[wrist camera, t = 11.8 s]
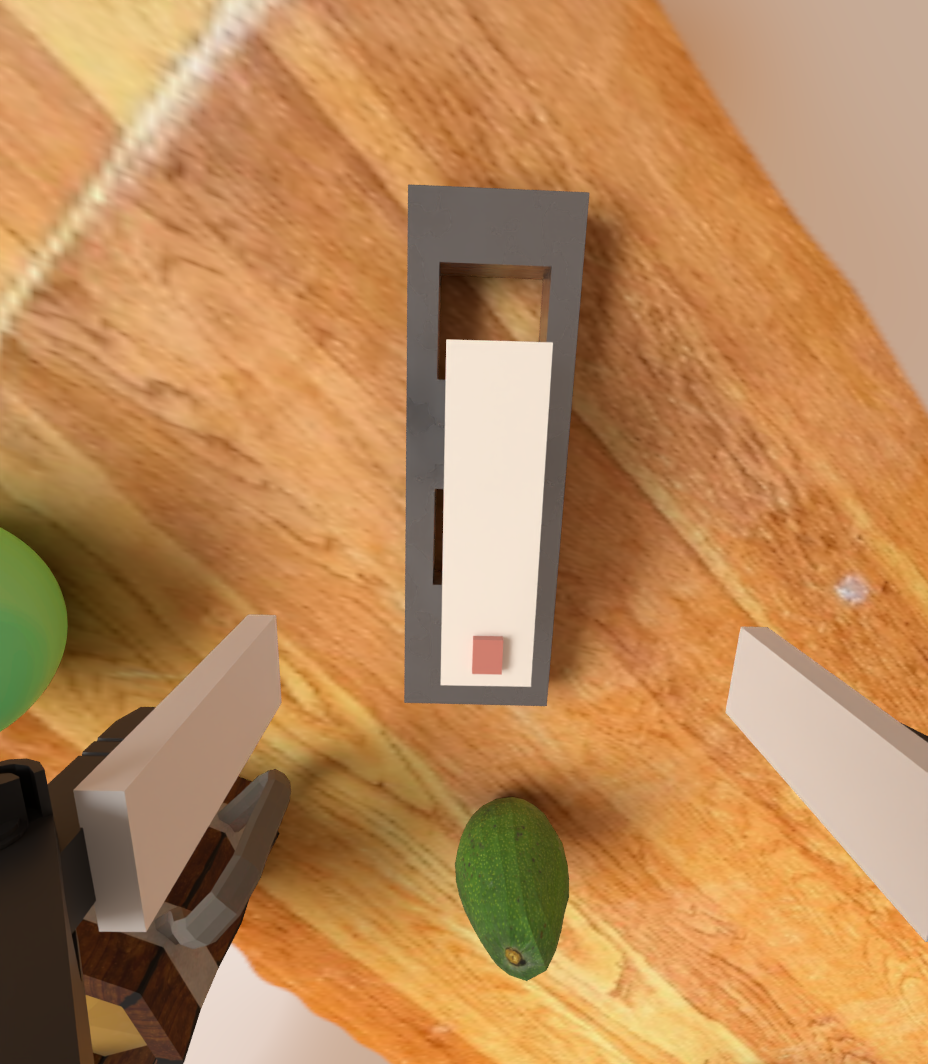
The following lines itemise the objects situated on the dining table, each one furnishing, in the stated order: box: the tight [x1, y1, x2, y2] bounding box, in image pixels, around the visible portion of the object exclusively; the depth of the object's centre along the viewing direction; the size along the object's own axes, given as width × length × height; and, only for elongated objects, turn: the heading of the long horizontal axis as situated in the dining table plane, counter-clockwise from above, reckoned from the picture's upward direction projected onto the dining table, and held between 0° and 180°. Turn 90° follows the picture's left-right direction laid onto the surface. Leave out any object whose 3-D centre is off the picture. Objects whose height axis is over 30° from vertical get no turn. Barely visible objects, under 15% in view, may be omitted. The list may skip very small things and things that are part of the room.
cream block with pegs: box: [441, 339, 553, 687], centre depth 30 cm, size 18×5×10 cm, turn 179°
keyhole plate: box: [404, 185, 589, 706], centre depth 33 cm, size 32×10×3 cm, turn 178°
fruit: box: [455, 797, 569, 981], centre depth 36 cm, size 8×8×12 cm
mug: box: [76, 769, 291, 1064], centre depth 34 cm, size 20×14×15 cm
